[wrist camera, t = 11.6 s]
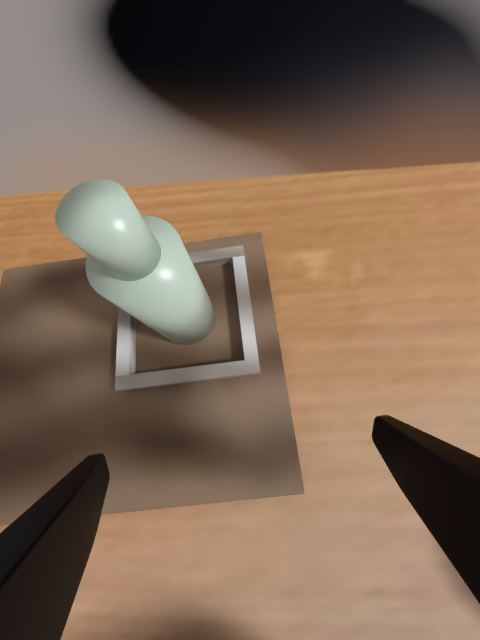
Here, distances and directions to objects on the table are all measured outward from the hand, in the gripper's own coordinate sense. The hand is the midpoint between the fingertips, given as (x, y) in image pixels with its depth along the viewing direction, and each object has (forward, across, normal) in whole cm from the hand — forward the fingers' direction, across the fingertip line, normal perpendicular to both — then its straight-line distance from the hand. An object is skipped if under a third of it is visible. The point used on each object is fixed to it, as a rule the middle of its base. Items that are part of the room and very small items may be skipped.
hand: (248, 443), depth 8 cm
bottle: (+13, +3, -1) cm, 13 cm away
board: (+13, +8, +3) cm, 15 cm away
